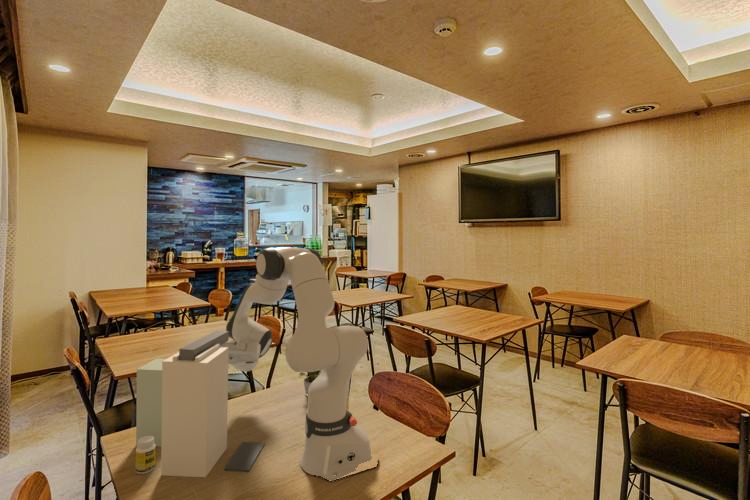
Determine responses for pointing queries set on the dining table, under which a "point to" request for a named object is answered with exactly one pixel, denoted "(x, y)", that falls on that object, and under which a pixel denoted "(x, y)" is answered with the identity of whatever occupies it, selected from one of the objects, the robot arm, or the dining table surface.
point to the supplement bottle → (145, 455)
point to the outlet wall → (194, 412)
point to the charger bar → (202, 345)
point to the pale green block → (149, 401)
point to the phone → (244, 457)
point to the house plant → (309, 379)
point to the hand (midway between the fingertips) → (221, 342)
